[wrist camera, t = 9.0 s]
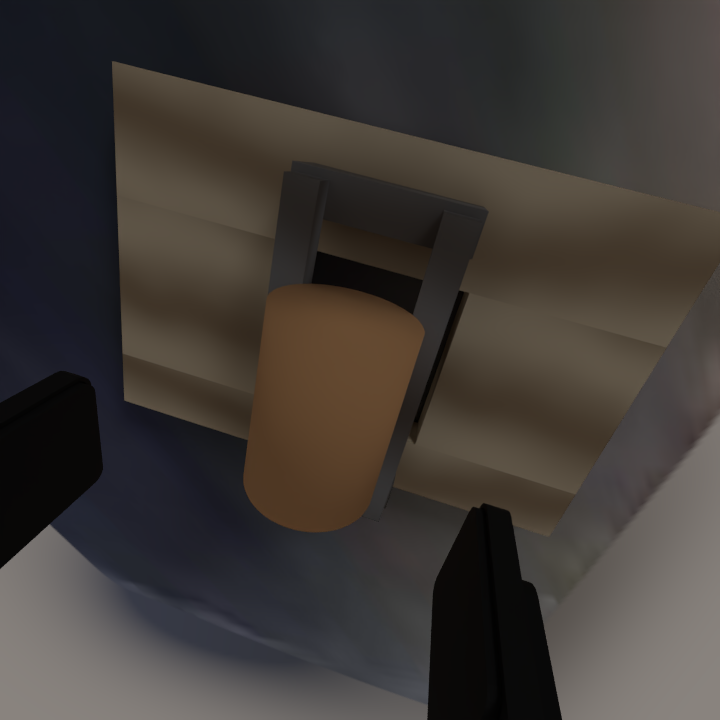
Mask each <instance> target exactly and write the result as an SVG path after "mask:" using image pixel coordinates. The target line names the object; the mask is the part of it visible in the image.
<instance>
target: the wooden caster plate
mask: <svg viewBox="0 0 720 720" xmlns="http://www.w3.org/2000/svg"><path fill="white" fill-rule="evenodd" d="M112 70H113V98H114V126H115V154H116V181H117V209H118V237H119V264H120V292H121V320H122V348H123V375H124V401H128V402H131V403H134V404H137V405H140V406H143V407H146V408H149V409H152V410H156V411H159V412H162V413H165V414H168V415H171V416H174V417H177V418H180V419H184V420H187V421H190V422H193V423H196V424H199V425H202V426H205V427H209V428H212V429H215V430H218V431H221V432H224V433H227V434H230V435H233V436H237V437H240V438H243V439H246V440H248V437H249V429H250V422H251V414H252V406H253V399H254V391H255V383H256V376H257V368H258V360H259V353H260V345H261V337H262V330H263V322H264V314H265V306H266V299H267V296H268V295H269V293H270V292H272V291H273V290H275V289H277V288H279V287H282V286H287V285H293V284H311V283H312V277H313V272H314V266H315V261H316V255H317V251H320V252H323V253H327V254H330V255H334V256H338V257H341V258H345V259H349V260H352V261H356V262H359V263H363V264H367V265H370V266H374V267H377V268H381V269H385V270H388V271H392V272H395V273H399V274H403V275H406V276H410V277H413V278H417V279H421V280H423V282H422V285H421V289H420V292H419V295H418V299H417V302H416V305H415V309H414V312H413V316H414V317H416V318H417V319H418V320H419V321H420V323H421V324H422V326H423V328H424V330H425V335H424V338H423V341H422V344H421V347H420V350H419V353H418V356H417V359H416V363H415V366H414V369H413V372H412V375H411V378H410V381H409V384H408V387H407V390H406V393H405V397H404V400H403V403H402V406H401V409H400V412H399V415H398V418H397V421H396V424H395V427H394V431H393V434H392V437H391V440H390V443H389V446H388V449H387V452H386V455H385V458H384V461H383V465H382V468H381V471H380V474H379V477H378V480H377V483H376V486H375V489H374V492H373V495H372V499H371V502H370V504H369V506H368V508H367V510H366V511H365V512H364V514H363V515H362V517H365V518H368V519H371V520H374V521H377V522H379V520H380V517H381V514H382V511H383V508H386V505H387V502H388V499H389V496H390V494H391V491H392V488H393V487H395V488H398V489H402V490H405V491H408V492H411V493H414V494H417V495H420V496H423V497H426V498H430V499H433V500H436V501H439V502H442V503H445V504H448V505H451V506H454V507H458V508H461V509H464V510H467V511H470V510H471V508H472V507H477V508H480V506H481V505H482V504H483V503H486V504H489V505H492V506H495V507H499V508H502V509H505V510H508V511H509V512H510V514H511V517H512V523H513V525H514V526H517V527H520V528H523V529H526V530H529V531H532V532H535V533H539V534H542V535H545V536H548V537H549V536H550V535H551V533H552V532H553V530H554V528H555V527H556V525H557V524H558V522H559V520H560V519H561V517H562V516H563V514H564V512H565V511H566V509H567V507H568V506H569V504H570V503H571V501H572V499H573V498H574V496H575V495H576V493H577V491H578V490H579V488H580V487H581V485H582V483H583V482H584V480H585V478H586V477H587V475H588V474H589V472H590V470H591V469H592V467H593V466H594V464H595V462H596V461H597V459H598V458H599V456H600V454H601V453H602V451H603V450H604V448H605V446H606V445H607V443H608V441H609V440H610V438H611V437H612V435H613V433H614V432H615V430H616V429H617V427H618V425H619V424H620V422H621V421H622V419H623V417H624V416H625V414H626V412H627V411H628V409H629V408H630V406H631V404H632V403H633V401H634V400H635V398H636V396H637V395H638V393H639V392H640V390H641V388H642V387H643V385H644V383H645V382H646V380H647V379H648V377H649V375H650V374H651V372H652V371H653V369H654V367H655V366H656V364H657V363H658V361H659V359H660V358H661V356H662V355H663V353H664V351H665V350H666V348H667V346H668V345H669V343H670V342H671V340H672V338H673V337H674V335H675V334H676V332H677V330H678V329H679V327H680V326H681V324H682V322H683V321H684V319H685V317H686V316H687V314H688V313H689V311H690V309H691V308H692V306H693V305H694V303H695V301H696V300H697V298H698V297H699V295H700V293H701V292H702V290H703V288H704V287H705V285H706V284H707V282H708V280H709V279H710V277H711V276H712V274H713V272H714V271H715V269H716V268H717V266H718V264H719V263H720V212H717V211H713V210H709V209H705V208H701V207H697V206H693V205H689V204H685V203H681V202H677V201H672V200H668V199H664V198H660V197H656V196H652V195H648V194H644V193H640V192H636V191H632V190H628V189H624V188H620V187H616V186H612V185H608V184H604V183H600V182H596V181H592V180H588V179H584V178H580V177H576V176H572V175H568V174H564V173H560V172H556V171H552V170H548V169H544V168H540V167H536V166H532V165H528V164H524V163H520V162H516V161H512V160H508V159H504V158H499V157H495V156H491V155H487V154H483V153H479V152H475V151H471V150H467V149H463V148H459V147H455V146H451V145H447V144H443V143H439V142H435V141H431V140H427V139H423V138H419V137H415V136H411V135H407V134H403V133H399V132H395V131H391V130H387V129H383V128H379V127H375V126H371V125H367V124H363V123H359V122H355V121H351V120H347V119H343V118H339V117H335V116H331V115H326V114H322V113H318V112H314V111H310V110H306V109H302V108H298V107H294V106H290V105H286V104H282V103H278V102H274V101H270V100H266V99H262V98H258V97H254V96H250V95H246V94H242V93H238V92H234V91H230V90H226V89H222V88H218V87H214V86H210V85H206V84H202V83H198V82H194V81H190V80H186V79H182V78H178V77H174V76H170V75H166V74H162V73H158V72H153V71H149V70H145V69H141V68H137V67H133V66H129V65H125V64H121V63H117V62H113V61H112ZM459 290H460V291H464V294H463V296H462V299H461V302H460V305H459V308H458V311H457V313H456V316H455V319H454V322H453V325H452V328H451V330H450V333H449V336H448V339H447V342H446V345H445V347H444V350H443V353H442V356H441V359H440V362H439V364H438V367H437V370H436V373H435V376H434V379H433V381H432V384H431V387H430V390H429V393H428V396H427V398H426V401H425V404H424V407H423V410H422V413H421V415H420V418H419V421H418V423H417V422H414V419H415V416H416V413H417V410H418V407H419V404H420V401H421V399H422V396H423V393H424V390H425V387H426V384H427V381H428V378H429V375H430V373H431V370H432V367H433V364H434V361H435V358H436V355H437V352H438V349H439V347H440V344H441V341H442V338H443V335H444V332H445V329H446V326H447V323H448V321H449V318H450V315H451V312H452V309H453V306H454V303H455V300H456V297H457V295H458V292H459Z"/></svg>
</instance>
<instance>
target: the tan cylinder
mask: <svg viewBox="0 0 720 720" xmlns="http://www.w3.org/2000/svg"><path fill="white" fill-rule="evenodd" d="M424 335H425V330H424V328H423V326H422V324H421V323H420V321H419V320H418V319H417V318H416V317H414V316H413V315H412V314H411V313H409V312H408V311H406V310H405V309H403V308H401V307H400V306H398V305H396V304H394V303H392V302H389V301H387V300H385V299H382V298H380V297H377V296H374V295H371V294H368V293H365V292H361V291H357V290H353V289H349V288H344V287H339V286H332V285H324V284H293V285H287V286H282V287H279V288H277V289H275V290H273V291H272V292H270V293H269V295H268V296H267V299H266V306H265V314H264V322H263V330H262V337H261V345H260V353H259V360H258V368H257V376H256V383H255V391H254V399H253V406H252V414H251V422H250V429H249V437H248V445H247V452H246V460H245V468H244V475H243V482H244V488H245V491H246V494H247V496H248V498H249V499H250V501H251V503H252V504H253V505H254V506H255V508H256V509H257V510H258V511H259V512H261V513H262V514H263V515H264V516H266V517H267V518H268V519H270V520H272V521H273V522H275V523H277V524H279V525H282V526H284V527H287V528H290V529H294V530H298V531H304V532H327V531H332V530H337V529H340V528H343V527H345V526H347V525H349V524H351V523H353V522H354V521H356V520H357V519H358V518H360V517H361V516H362V515H363V514H364V512H365V511H366V510H367V508H368V506H369V504H370V502H371V499H372V495H373V492H374V489H375V486H376V483H377V480H378V477H379V474H380V471H381V468H382V465H383V461H384V458H385V455H386V452H387V449H388V446H389V443H390V440H391V437H392V434H393V431H394V427H395V424H396V421H397V418H398V415H399V412H400V409H401V406H402V403H403V400H404V397H405V393H406V390H407V387H408V384H409V381H410V378H411V375H412V372H413V369H414V366H415V363H416V359H417V356H418V353H419V350H420V347H421V344H422V341H423V338H424Z"/></svg>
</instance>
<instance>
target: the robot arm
mask: <svg viewBox="0 0 720 720" xmlns="http://www.w3.org/2000/svg"><path fill="white" fill-rule="evenodd" d="M102 470H103V463H102V453H101V443H100V434H99V424H98V414H97V405H96V395H95V389H94V388H93V386H91V383H90V381H89V379H87V378H85V377H82V376H79V375H76V374H72V373H69V372H66V371H59V372H57V373H54V374H53V375H51V376H49V377H47V378H45V379H43V380H42V381H40V382H38V383H36V384H34V385H32V386H30V387H29V388H27V389H25V390H23V391H21V392H19V393H18V394H16V395H14V396H12V397H10V398H8V399H6V400H5V401H3V402H1V403H0V569H1V568H2V567H3V566H4V565H5V564H6V563H7V562H8V561H9V560H11V558H13V557H14V556H15V555H16V554H17V553H18V552H19V551H20V550H21V549H23V548H24V547H25V546H26V545H27V544H28V543H29V542H30V541H31V540H33V539H34V538H35V537H36V536H37V535H38V534H39V533H40V532H41V531H42V530H44V529H45V528H46V527H47V526H48V525H49V524H50V523H51V522H52V521H53V520H55V519H56V518H57V517H58V516H59V515H60V514H61V513H62V512H63V511H64V510H66V509H67V508H68V507H69V506H70V505H71V504H72V503H73V502H74V501H75V500H77V499H78V498H79V497H80V496H81V495H82V494H83V493H84V492H85V491H86V490H88V489H89V488H90V487H91V486H92V485H93V484H94V483H95V482H96V481H97V480H98V479H99V477H100V475H101V473H102ZM427 720H562V717H561V712H560V707H559V702H558V697H557V692H556V687H555V681H554V676H553V671H552V666H551V661H550V656H549V650H548V646H547V640H546V635H545V630H544V625H543V620H542V615H541V610H540V605H539V599H538V595H537V592H536V589H535V587H534V586H533V584H532V583H530V582H527V581H524V580H522V578H521V572H520V566H519V560H518V554H517V548H516V542H515V536H514V529H513V523H512V517H511V514H510V512H509V511H508V510H505V509H502V508H499V507H495V506H492V505H489V504H486V503H483V504H482V505H481V506H480V508H477V507H472V508H471V510H470V512H469V514H468V516H467V518H466V520H465V522H464V524H463V526H462V528H461V530H460V532H459V534H458V536H457V538H456V540H455V542H454V544H453V546H452V548H451V550H450V552H449V554H448V556H447V558H446V560H445V562H444V564H443V566H442V568H441V570H440V572H439V574H438V576H437V578H436V581H435V585H434V590H433V604H432V627H431V650H430V673H429V696H428V718H427Z"/></svg>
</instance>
